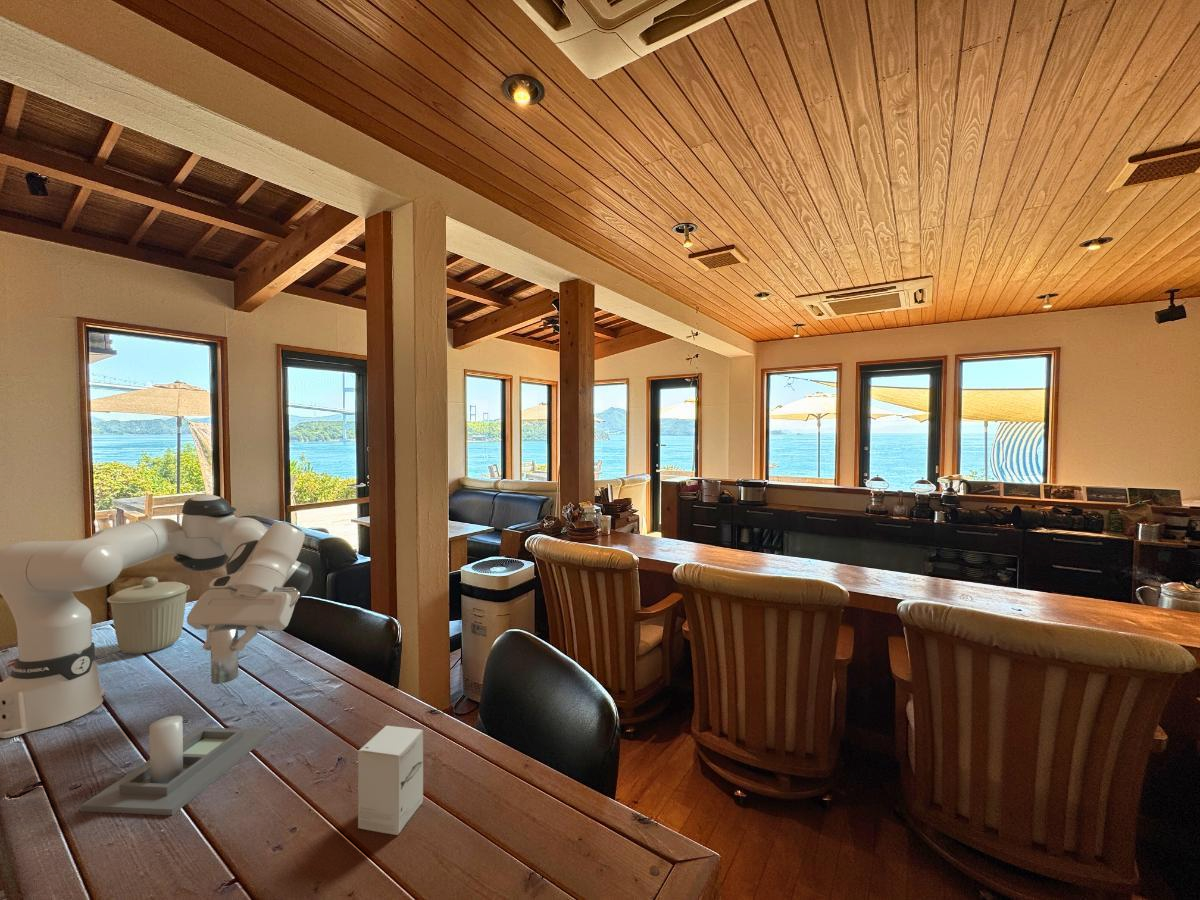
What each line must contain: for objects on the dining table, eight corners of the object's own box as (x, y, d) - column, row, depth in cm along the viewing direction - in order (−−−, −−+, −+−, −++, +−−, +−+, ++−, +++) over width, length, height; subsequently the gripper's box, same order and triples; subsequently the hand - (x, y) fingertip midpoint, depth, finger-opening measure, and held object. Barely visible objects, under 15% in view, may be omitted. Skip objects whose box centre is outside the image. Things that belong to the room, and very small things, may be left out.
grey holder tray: (80, 811, 80) (79, 745, 80) (198, 732, 102) (197, 680, 102) (172, 815, 79) (171, 749, 79) (270, 734, 101) (270, 682, 101)
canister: (156, 633, 155) (155, 568, 155) (206, 636, 153) (205, 570, 153) (89, 658, 137) (88, 584, 137) (144, 662, 135) (143, 587, 135)
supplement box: (398, 837, 75) (397, 756, 75) (356, 829, 77) (355, 750, 76) (424, 802, 82) (424, 728, 82) (386, 795, 84) (385, 723, 84)
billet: (205, 683, 97) (204, 633, 96) (223, 673, 101) (222, 625, 101) (226, 684, 96) (225, 634, 96) (243, 673, 101) (243, 625, 101)
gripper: (309, 594, 109) (279, 656, 100) (221, 593, 110) (183, 654, 101) (296, 580, 105) (263, 644, 95) (204, 579, 106) (163, 642, 96)
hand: (221, 649), depth 98 cm, fingers closed on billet, 4 cm apart
